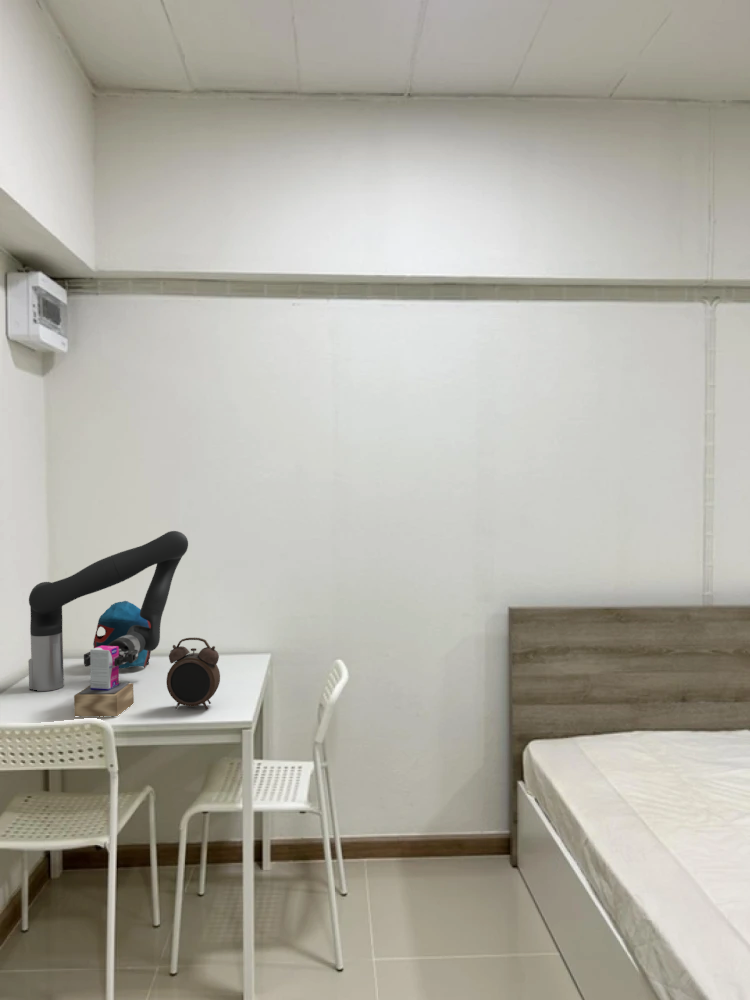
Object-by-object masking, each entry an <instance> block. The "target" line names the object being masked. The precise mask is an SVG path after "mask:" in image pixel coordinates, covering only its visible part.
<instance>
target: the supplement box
mask: <svg viewBox="0 0 750 1000" xmlns="http://www.w3.org/2000/svg"><path fill="white" fill-rule="evenodd" d="M90 651H91V652H90ZM90 651H89V652H90V653H91V662H90V663H91V665H90V685H91V688H90V690H102V691H108V690H110V689H112V688H114V687H116V686H118V685H119V683H120V680H119V679H120V678H119V677H120V675H119V674H120V669H119V666H115V658H117V657H118V656H119V647H118V646H99V647H96V648H94V647H93V648H92V649H90Z"/></svg>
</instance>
